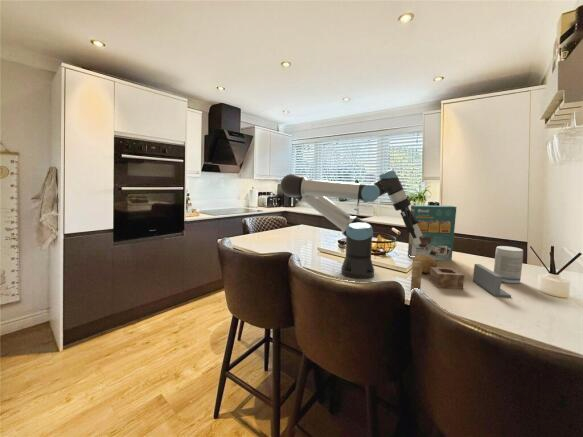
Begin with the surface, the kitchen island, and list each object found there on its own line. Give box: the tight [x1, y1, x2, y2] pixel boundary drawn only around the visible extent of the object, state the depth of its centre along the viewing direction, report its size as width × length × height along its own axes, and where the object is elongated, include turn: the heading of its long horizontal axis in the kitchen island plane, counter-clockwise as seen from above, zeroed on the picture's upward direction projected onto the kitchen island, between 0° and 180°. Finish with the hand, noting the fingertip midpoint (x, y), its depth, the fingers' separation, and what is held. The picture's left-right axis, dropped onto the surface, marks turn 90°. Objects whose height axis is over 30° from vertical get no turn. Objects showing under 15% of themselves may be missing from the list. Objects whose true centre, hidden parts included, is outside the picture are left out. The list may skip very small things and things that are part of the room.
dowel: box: [410, 260, 423, 291], centre depth 108 cm, size 4×4×12 cm
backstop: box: [472, 263, 512, 298], centre depth 112 cm, size 6×16×8 cm, turn 171°
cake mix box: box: [407, 204, 457, 261], centre depth 155 cm, size 22×6×30 cm, turn 85°
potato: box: [412, 255, 438, 274], centre depth 132 cm, size 10×14×8 cm
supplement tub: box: [493, 245, 524, 284], centre depth 121 cm, size 10×10×15 cm
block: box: [429, 267, 465, 290], centre depth 116 cm, size 10×9×6 cm
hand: (419, 240), depth 132 cm, fingers open, 13 cm apart
